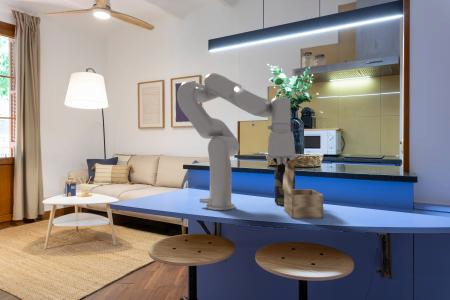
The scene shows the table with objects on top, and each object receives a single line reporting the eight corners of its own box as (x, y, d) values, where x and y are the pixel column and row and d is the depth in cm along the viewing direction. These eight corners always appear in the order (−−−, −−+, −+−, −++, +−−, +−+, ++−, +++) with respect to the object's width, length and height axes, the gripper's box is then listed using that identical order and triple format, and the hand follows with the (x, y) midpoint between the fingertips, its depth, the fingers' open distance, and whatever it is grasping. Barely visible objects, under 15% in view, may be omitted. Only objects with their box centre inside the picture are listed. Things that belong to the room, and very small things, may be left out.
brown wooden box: (291, 218, 124) (292, 195, 124) (284, 210, 138) (284, 189, 138) (322, 218, 124) (323, 194, 124) (312, 210, 138) (312, 189, 138)
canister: (295, 206, 145) (295, 166, 145) (273, 206, 147) (274, 166, 147) (294, 202, 155) (295, 165, 154) (274, 202, 157) (275, 164, 156)
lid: (292, 194, 124) (289, 194, 124) (284, 189, 138) (282, 189, 138) (294, 163, 123) (292, 163, 123) (286, 161, 137) (284, 160, 137)
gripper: (263, 128, 126) (264, 175, 126) (301, 128, 126) (302, 175, 127) (261, 129, 133) (261, 173, 134) (297, 128, 134) (297, 173, 134)
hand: (281, 174), depth 130 cm, fingers closed
